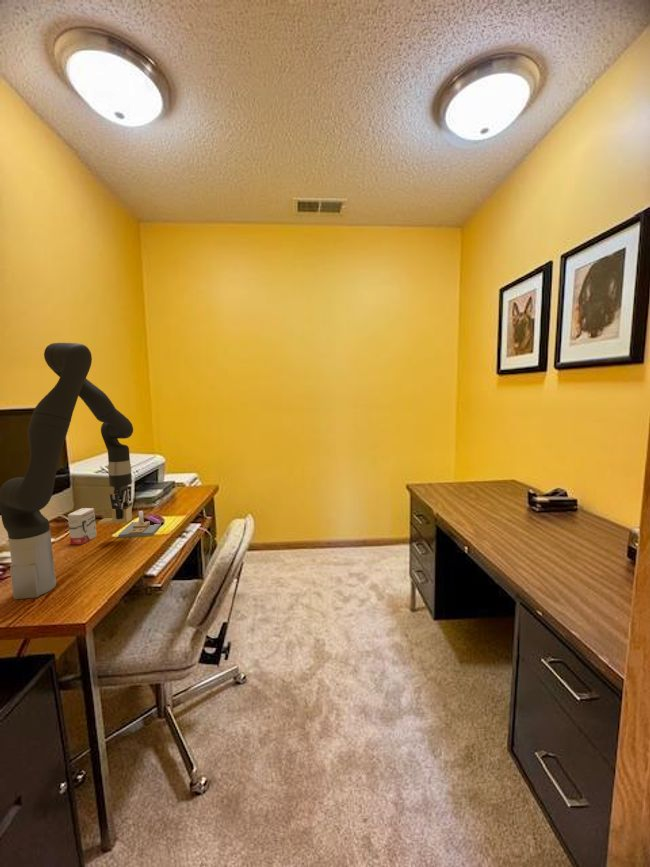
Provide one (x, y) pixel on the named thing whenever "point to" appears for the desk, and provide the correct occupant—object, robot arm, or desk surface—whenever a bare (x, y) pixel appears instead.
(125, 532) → the hinge base
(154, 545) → the desk surface
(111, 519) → the beige flanged block
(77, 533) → the ink box
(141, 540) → the desk surface
